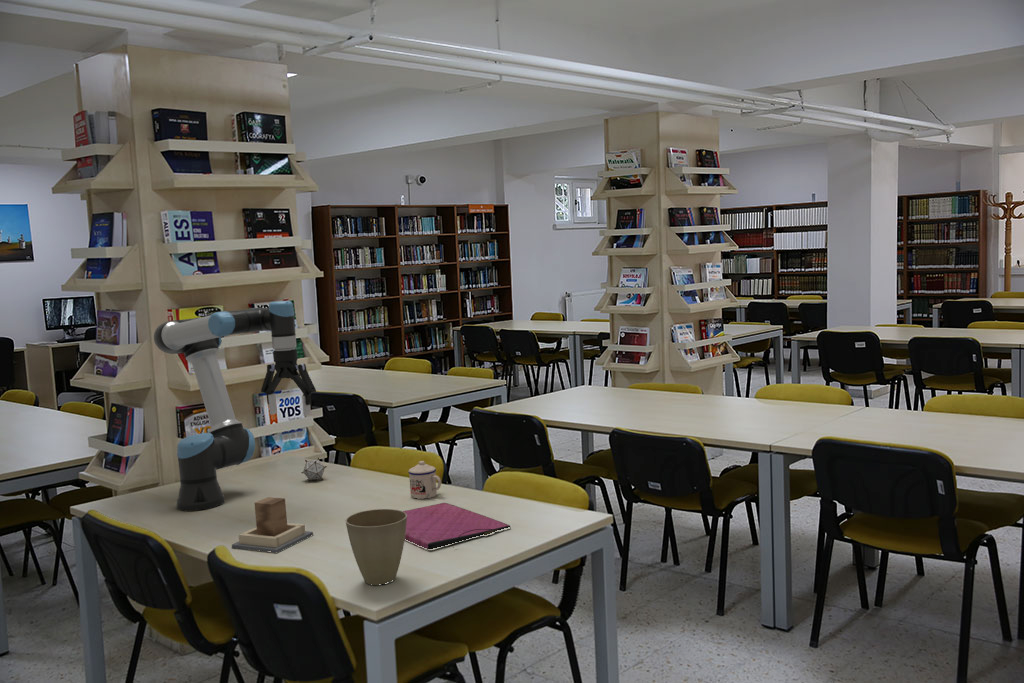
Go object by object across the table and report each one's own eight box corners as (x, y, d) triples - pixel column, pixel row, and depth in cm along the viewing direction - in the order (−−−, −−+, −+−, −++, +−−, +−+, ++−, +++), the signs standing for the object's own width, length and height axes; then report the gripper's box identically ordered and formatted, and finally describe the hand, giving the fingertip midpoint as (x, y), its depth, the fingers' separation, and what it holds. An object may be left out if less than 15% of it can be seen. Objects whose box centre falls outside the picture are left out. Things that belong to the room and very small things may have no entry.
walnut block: (257, 540, 250) (254, 502, 249) (271, 533, 256) (268, 497, 255) (274, 542, 248) (271, 504, 247) (288, 535, 253) (285, 498, 252)
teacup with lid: (404, 497, 291) (402, 463, 289) (421, 491, 298) (419, 457, 297) (432, 501, 284) (430, 466, 283) (449, 494, 291) (447, 460, 290)
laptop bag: (366, 512, 264) (443, 496, 280) (367, 525, 264) (444, 508, 280) (435, 541, 232) (518, 521, 247) (436, 556, 232) (518, 535, 248)
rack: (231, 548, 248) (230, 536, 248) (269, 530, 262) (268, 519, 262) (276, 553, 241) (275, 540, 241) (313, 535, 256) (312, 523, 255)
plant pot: (376, 596, 206) (371, 530, 204) (337, 583, 216) (333, 520, 214) (423, 577, 217) (419, 514, 215) (384, 565, 227) (380, 505, 225)
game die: (319, 490, 321) (322, 472, 315) (297, 483, 321) (299, 465, 315) (327, 473, 328) (330, 455, 322) (305, 466, 328) (308, 448, 322)
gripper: (323, 347, 280) (328, 413, 282) (262, 348, 290) (267, 411, 292) (308, 350, 273) (314, 417, 275) (246, 350, 283) (252, 415, 285)
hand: (290, 414), depth 284 cm, fingers open, 13 cm apart
